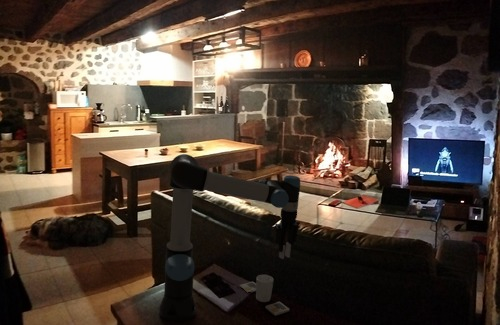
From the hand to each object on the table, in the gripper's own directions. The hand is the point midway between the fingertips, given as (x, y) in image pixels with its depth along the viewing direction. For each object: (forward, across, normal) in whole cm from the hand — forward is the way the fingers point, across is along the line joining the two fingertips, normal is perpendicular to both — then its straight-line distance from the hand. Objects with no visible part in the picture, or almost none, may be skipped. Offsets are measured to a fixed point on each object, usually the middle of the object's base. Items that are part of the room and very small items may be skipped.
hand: (284, 257), depth 189 cm
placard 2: (+19, -10, -10) cm, 24 cm away
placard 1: (+19, -10, +10) cm, 24 cm away
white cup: (+19, -10, 0) cm, 21 cm away
